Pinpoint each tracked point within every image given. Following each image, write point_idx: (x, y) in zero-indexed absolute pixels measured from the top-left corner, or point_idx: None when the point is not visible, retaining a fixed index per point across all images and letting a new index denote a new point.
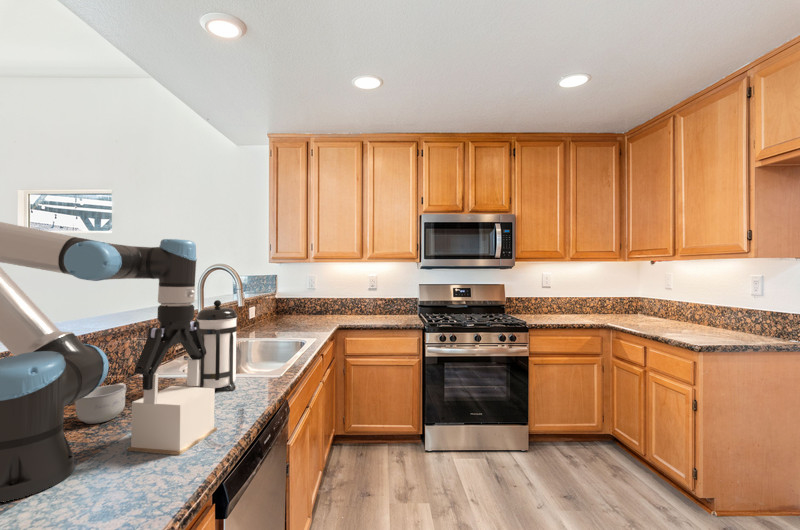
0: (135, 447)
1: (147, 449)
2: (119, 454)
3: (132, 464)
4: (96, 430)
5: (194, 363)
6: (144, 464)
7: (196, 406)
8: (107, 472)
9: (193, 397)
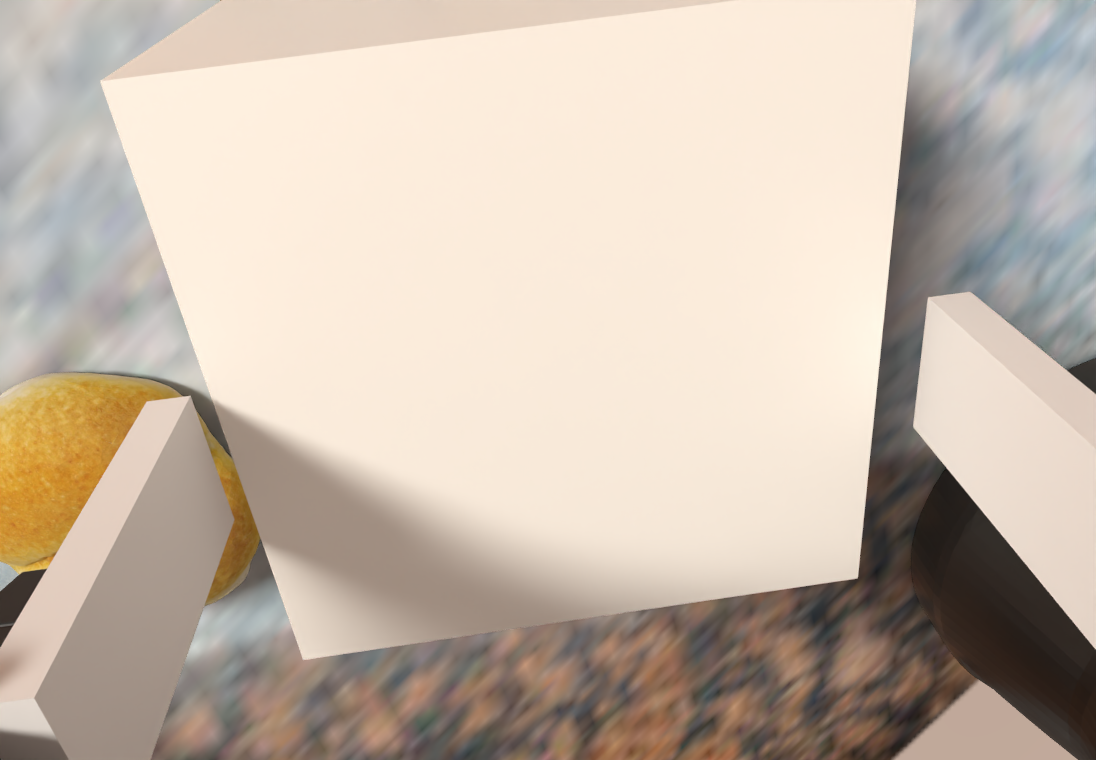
0: None
1: None
2: None
3: (916, 149)
4: (542, 732)
5: (85, 691)
6: (912, 62)
7: (546, 3)
8: (1020, 208)
9: (591, 56)
